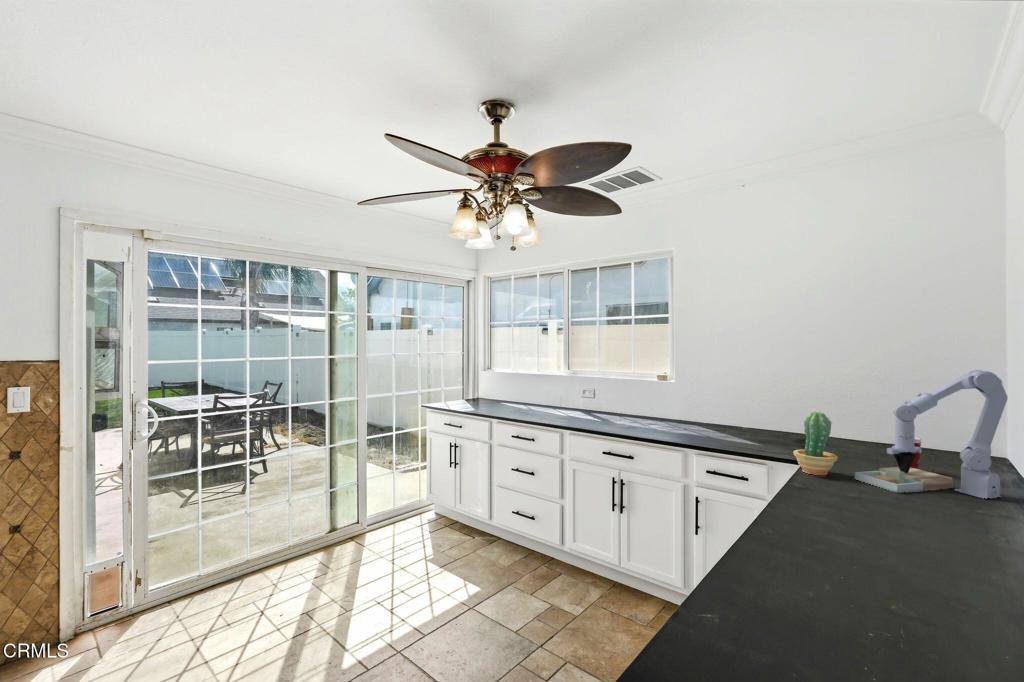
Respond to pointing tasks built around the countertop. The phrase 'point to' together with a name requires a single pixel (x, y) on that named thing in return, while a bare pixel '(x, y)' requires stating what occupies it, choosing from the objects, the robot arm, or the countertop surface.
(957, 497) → the countertop surface
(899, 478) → the sage tile
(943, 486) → the wooden board
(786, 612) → the countertop surface
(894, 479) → the terracotta tile
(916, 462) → the paper cup
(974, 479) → the robot arm
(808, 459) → the potted cactus
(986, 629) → the countertop surface
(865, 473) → the box
